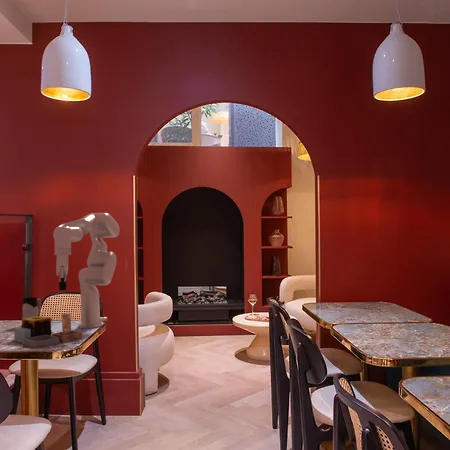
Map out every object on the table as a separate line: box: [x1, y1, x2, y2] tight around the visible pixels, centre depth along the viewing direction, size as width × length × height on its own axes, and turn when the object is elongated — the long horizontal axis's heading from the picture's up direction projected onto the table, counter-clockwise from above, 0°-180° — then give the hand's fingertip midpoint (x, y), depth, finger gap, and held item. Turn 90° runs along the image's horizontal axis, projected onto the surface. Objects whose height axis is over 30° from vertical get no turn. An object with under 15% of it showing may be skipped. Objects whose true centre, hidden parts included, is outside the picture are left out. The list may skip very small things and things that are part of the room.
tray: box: [23, 334, 60, 349], centre depth 223 cm, size 11×11×3 cm
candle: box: [21, 315, 53, 337], centre depth 235 cm, size 10×10×10 cm
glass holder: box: [22, 297, 42, 319], centre depth 274 cm, size 9×14×15 cm, turn 167°
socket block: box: [51, 330, 83, 344], centre depth 232 cm, size 10×10×3 cm
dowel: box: [61, 313, 72, 335], centre depth 232 cm, size 4×4×12 cm
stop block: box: [13, 326, 31, 344], centre depth 230 cm, size 3×10×6 cm, turn 48°
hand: (62, 290), depth 237 cm, fingers closed
